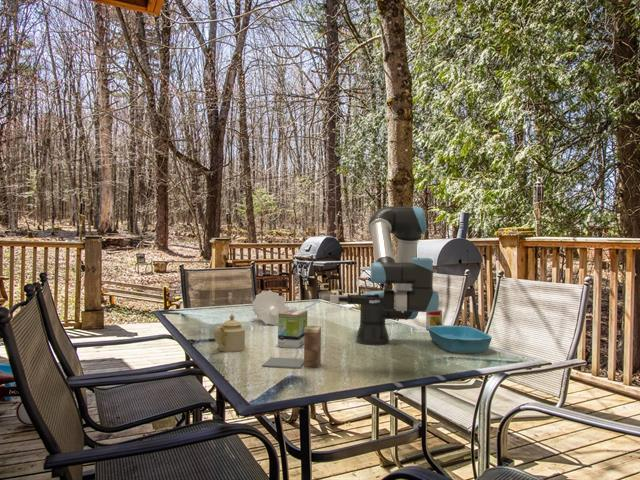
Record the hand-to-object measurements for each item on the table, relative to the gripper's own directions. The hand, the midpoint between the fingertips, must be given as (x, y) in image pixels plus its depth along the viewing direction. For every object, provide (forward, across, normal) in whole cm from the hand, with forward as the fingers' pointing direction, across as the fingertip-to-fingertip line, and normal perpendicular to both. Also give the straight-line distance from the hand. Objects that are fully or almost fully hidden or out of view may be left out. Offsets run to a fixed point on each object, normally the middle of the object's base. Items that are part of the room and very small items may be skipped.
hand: (330, 298), depth 174 cm
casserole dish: (-52, +46, -25) cm, 74 cm away
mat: (+17, 0, -25) cm, 30 cm away
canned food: (-43, +75, -25) cm, 90 cm away
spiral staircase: (+47, +87, -24) cm, 102 cm away
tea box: (+22, +34, -25) cm, 48 cm away
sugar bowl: (+45, +17, -25) cm, 54 cm away
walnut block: (+7, 0, -25) cm, 26 cm away
